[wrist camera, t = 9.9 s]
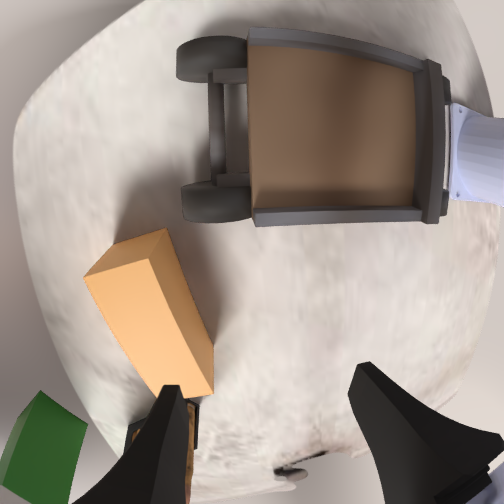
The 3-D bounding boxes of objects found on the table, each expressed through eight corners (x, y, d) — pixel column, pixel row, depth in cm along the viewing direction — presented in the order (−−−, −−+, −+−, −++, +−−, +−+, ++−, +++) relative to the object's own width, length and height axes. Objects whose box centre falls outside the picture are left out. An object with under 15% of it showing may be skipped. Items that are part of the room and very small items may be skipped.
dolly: (424, 88, 14) (476, 82, 9) (422, 201, 18) (472, 223, 13) (182, 63, 13) (164, 28, 8) (188, 207, 16) (173, 236, 11)
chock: (167, 226, 17) (148, 258, 12) (213, 345, 21) (213, 394, 16) (114, 243, 17) (82, 277, 12) (167, 354, 20) (159, 401, 16)
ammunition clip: (140, 433, 25) (129, 517, 14) (127, 426, 24) (113, 512, 13) (200, 405, 23) (200, 516, 12) (186, 396, 23) (181, 512, 11)
